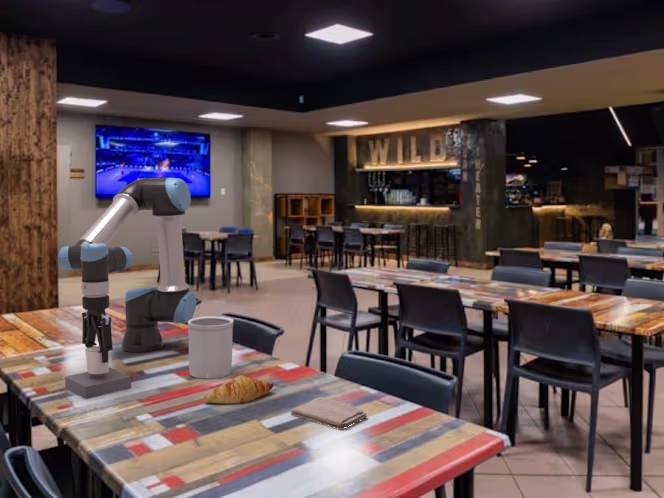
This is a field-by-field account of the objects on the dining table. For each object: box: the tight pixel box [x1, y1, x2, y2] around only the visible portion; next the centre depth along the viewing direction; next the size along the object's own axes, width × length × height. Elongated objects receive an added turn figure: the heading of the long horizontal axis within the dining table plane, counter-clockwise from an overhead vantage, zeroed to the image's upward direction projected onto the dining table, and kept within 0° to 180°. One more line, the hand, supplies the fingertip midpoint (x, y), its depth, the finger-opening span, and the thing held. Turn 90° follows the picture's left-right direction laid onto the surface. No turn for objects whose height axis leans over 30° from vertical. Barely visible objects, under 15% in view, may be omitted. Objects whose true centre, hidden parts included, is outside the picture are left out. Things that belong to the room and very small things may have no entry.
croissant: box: [203, 374, 274, 405], centre depth 174 cm, size 21×10×8 cm, turn 121°
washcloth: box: [290, 396, 368, 430], centre depth 160 cm, size 12×18×3 cm, turn 53°
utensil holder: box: [187, 315, 234, 379], centre depth 198 cm, size 15×15×18 cm
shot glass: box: [84, 345, 110, 374], centre depth 182 cm, size 7×7×7 cm
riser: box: [64, 366, 132, 400], centre depth 182 cm, size 14×14×4 cm
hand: (97, 370), depth 182 cm, fingers closed on shot glass, 7 cm apart
